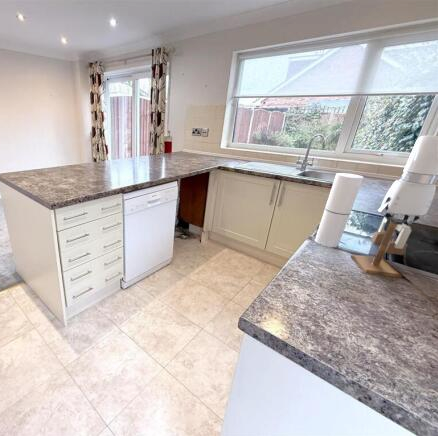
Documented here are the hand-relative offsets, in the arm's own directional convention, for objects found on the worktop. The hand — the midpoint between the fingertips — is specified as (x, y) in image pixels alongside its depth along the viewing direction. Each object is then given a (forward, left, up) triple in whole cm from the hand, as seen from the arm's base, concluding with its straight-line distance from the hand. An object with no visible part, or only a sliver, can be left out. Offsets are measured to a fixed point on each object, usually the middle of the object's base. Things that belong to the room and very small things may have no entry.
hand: (393, 232), depth 82 cm
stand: (+9, +12, -8) cm, 17 cm away
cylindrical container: (+17, -2, -8) cm, 19 cm away
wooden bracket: (0, 0, -7) cm, 7 cm away
